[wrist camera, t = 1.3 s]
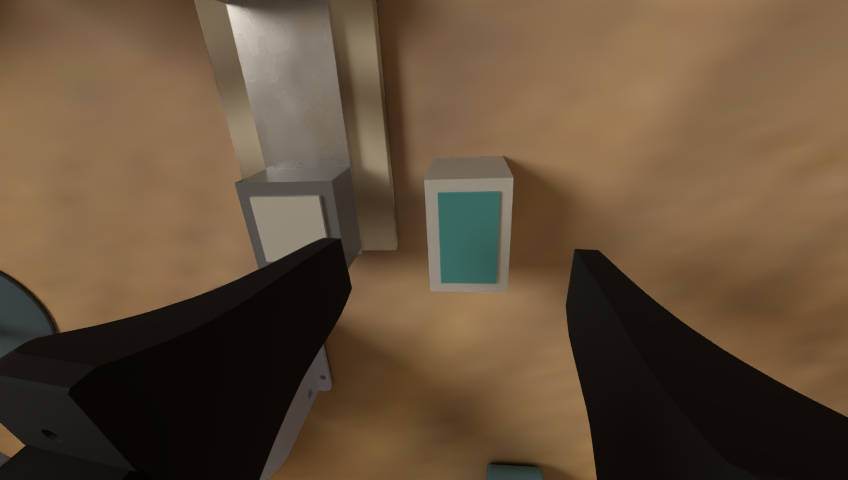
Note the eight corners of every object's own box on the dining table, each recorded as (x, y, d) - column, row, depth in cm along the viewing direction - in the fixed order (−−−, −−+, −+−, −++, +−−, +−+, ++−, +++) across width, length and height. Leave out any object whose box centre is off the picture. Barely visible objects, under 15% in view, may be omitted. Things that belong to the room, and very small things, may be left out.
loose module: (498, 249, 23) (508, 293, 18) (436, 249, 23) (429, 293, 18) (502, 155, 20) (514, 178, 15) (433, 157, 21) (424, 180, 16)
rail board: (398, 243, 23) (395, 250, 22) (269, 244, 24) (261, 250, 23) (362, -154, 15) (356, -169, 14) (173, -128, 16) (156, -140, 15)
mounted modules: (361, 247, 22) (345, 273, 19) (284, 247, 22) (257, 272, 19) (305, -154, 14) (264, -213, 11) (192, -138, 15) (126, -190, 12)
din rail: (364, 250, 22) (362, 254, 22) (290, 250, 23) (286, 254, 22) (308, -162, 15) (302, -171, 14) (198, -146, 15) (188, -154, 15)
